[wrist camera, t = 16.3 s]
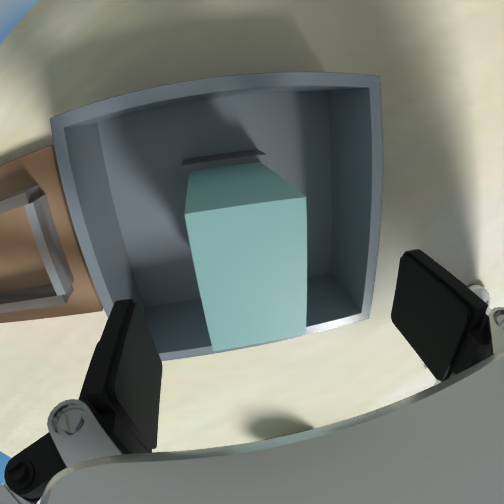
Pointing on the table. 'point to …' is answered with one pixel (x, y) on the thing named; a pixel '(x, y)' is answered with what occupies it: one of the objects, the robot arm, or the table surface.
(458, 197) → the table surface
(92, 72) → the table surface
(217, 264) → the teal rectangular block
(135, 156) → the bin
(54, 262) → the socket block
